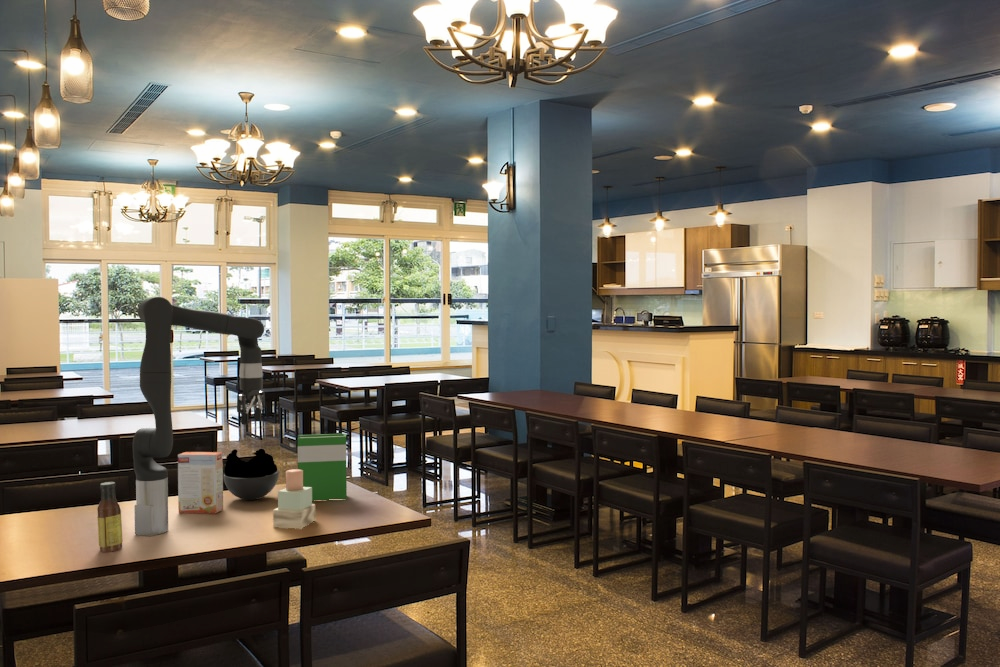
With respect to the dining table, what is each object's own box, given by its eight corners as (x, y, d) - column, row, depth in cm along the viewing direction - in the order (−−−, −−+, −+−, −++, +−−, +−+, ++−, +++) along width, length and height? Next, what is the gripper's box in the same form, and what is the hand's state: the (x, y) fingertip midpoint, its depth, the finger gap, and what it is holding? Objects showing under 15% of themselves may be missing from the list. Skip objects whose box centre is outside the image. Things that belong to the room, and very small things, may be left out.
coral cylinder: (298, 491, 249) (297, 473, 248) (282, 490, 250) (282, 472, 250) (306, 487, 254) (305, 469, 254) (291, 486, 255) (291, 468, 255)
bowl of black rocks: (290, 497, 290) (290, 448, 289) (246, 508, 273) (246, 456, 272) (256, 490, 301) (255, 443, 300) (212, 501, 284) (211, 451, 283)
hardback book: (298, 502, 282) (297, 438, 281) (298, 498, 289) (298, 435, 288) (346, 500, 285) (346, 436, 285) (346, 495, 293) (345, 433, 292)
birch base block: (301, 530, 246) (301, 511, 246) (273, 528, 249) (273, 509, 248) (315, 521, 256) (315, 504, 256) (288, 520, 258) (288, 502, 258)
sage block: (300, 510, 247) (300, 492, 247) (278, 509, 249) (277, 491, 249) (312, 505, 255) (312, 487, 255) (290, 503, 257) (290, 486, 257)
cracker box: (224, 509, 271) (223, 451, 271) (216, 514, 265) (215, 454, 265) (186, 508, 273) (185, 450, 272) (177, 513, 267) (177, 453, 266)
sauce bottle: (126, 546, 228) (125, 480, 228) (116, 552, 222) (115, 485, 221) (104, 546, 228) (103, 480, 228) (93, 553, 222) (92, 485, 221)
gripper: (250, 378, 256) (250, 426, 256) (271, 374, 270) (271, 420, 270) (229, 377, 257) (230, 425, 258) (252, 374, 271) (252, 419, 272)
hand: (251, 422), depth 264 cm, fingers open, 8 cm apart
